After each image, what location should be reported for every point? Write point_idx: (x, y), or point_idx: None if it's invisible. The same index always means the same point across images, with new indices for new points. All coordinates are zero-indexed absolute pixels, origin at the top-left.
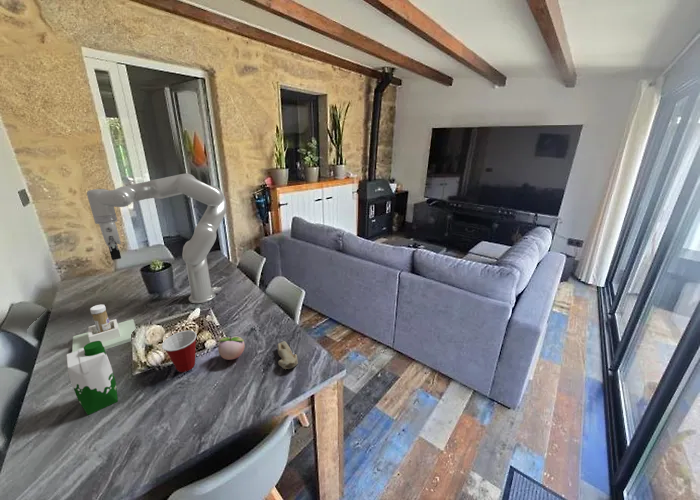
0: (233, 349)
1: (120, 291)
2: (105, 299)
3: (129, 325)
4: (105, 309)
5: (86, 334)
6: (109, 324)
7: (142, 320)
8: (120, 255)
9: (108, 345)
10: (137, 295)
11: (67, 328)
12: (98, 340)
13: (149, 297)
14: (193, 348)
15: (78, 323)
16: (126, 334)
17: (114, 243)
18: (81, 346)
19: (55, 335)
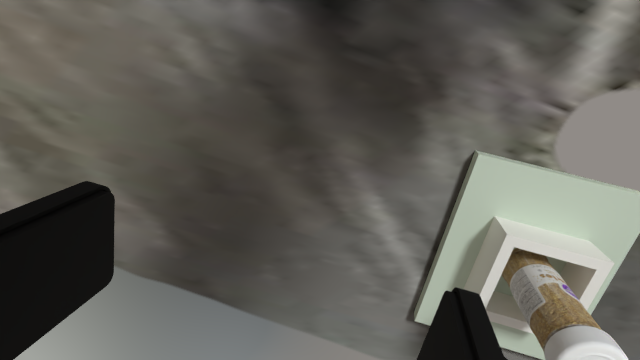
0: None
1: (110, 77)
2: (156, 147)
3: (526, 186)
4: (607, 334)
5: (441, 295)
6: (562, 279)
7: (498, 122)
8: (488, 326)
9: (607, 285)
10: (209, 38)
11: (311, 297)
12: None
13: (277, 4)
14: None
15: (301, 269)
16: (595, 221)
17: None
18: (517, 331)
19: (331, 329)
